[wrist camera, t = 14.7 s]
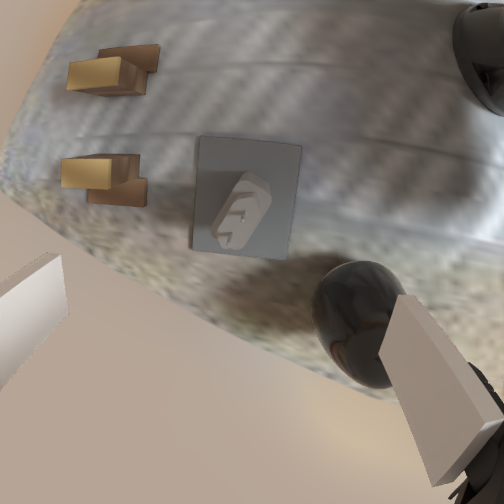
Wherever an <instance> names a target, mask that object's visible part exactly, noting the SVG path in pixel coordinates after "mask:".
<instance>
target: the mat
mask: <svg viewBox="0 0 504 504" xmlns="http://www.w3.org/2000/svg"><path fill="white" fill-rule="evenodd" d="M301 150H302V146H298V145H290V144H282V143H274V142H266V141H256V140H247V139H236V138H224V137H211V136H200V145H199V157H198V169H197V182H196V196H195V212H194V229H193V250H194V251H203V252H212V253H220V254H229V255H238V256H247V257H256V258H265V259H274V260H283V261H286V260H287V253H288V246H289V239H290V233H291V226H292V219H293V211H294V204H295V197H296V189H297V182H298V174H299V166H300V158H301ZM245 172H253V173H254V174H256V175H258V176H259V177H261V178H263V179H264V180H266V181H267V182H268V183H269V185H270V190H271V198H272V202H271V205H270V207H269V208H268V210H267V212H266V213H265V215H264V216H263V218H262V219H261V221H260V222H259V224H258V226H257V227H256V229H255V230H254V232H253V233H252V235H251V237H250V238H249V240H248V241H247V243H246V244H245V246H244V247H243V248H242V249H239V250H234V249H231V248H228V249H223V248H222V247H221V245H220V242H219V241H218V240H216V239H214V238H213V237H212V235H211V233H210V229H211V226H212V224H213V222H214V221H215V219H216V217H217V216H218V214H219V212H220V211H221V209H222V207H223V206H224V204H225V202H226V200H227V199H228V197H229V195H230V194H231V192H232V191H233V189H234V187H235V186H236V184H237V182H238V181H239V179H240V178H241V176H242V175H243V174H244V173H245Z"/></svg>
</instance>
